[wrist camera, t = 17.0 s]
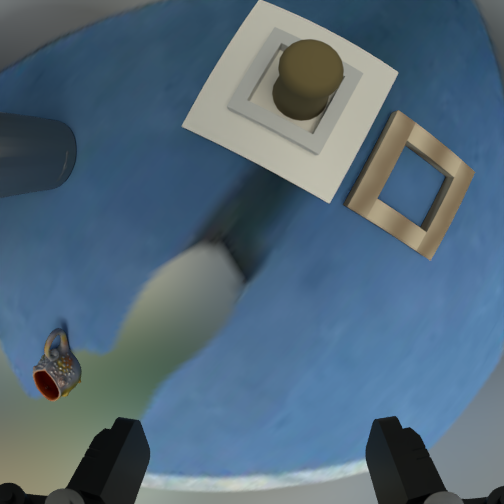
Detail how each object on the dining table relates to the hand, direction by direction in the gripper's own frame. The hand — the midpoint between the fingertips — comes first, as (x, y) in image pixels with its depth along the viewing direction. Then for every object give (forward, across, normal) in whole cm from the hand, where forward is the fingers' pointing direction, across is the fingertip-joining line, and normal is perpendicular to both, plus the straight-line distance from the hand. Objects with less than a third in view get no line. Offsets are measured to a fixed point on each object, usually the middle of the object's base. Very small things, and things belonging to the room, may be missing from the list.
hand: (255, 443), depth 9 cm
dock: (+28, -4, -17) cm, 33 cm away
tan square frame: (+28, -18, -7) cm, 34 cm away
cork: (+27, -5, -17) cm, 32 cm away
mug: (+28, +30, +16) cm, 44 cm away
